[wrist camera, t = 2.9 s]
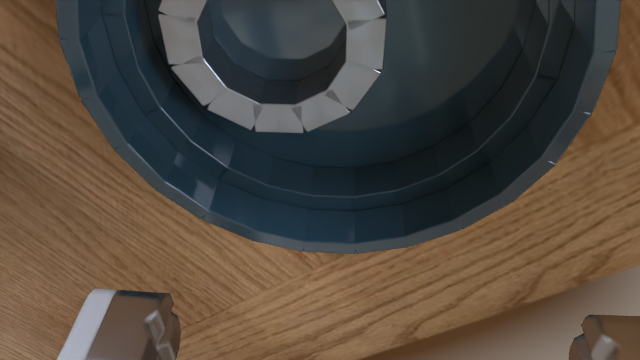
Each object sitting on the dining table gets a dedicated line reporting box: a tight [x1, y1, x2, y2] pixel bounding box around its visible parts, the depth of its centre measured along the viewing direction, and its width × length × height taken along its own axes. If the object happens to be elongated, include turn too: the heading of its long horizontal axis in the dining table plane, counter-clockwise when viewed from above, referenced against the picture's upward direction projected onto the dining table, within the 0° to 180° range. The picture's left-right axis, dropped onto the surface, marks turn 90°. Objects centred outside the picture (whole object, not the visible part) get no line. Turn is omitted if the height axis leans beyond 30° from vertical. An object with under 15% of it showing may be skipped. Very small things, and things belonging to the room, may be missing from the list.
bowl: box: [56, 0, 621, 254], centre depth 20 cm, size 17×17×4 cm
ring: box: [157, 0, 387, 133], centre depth 20 cm, size 8×8×2 cm
